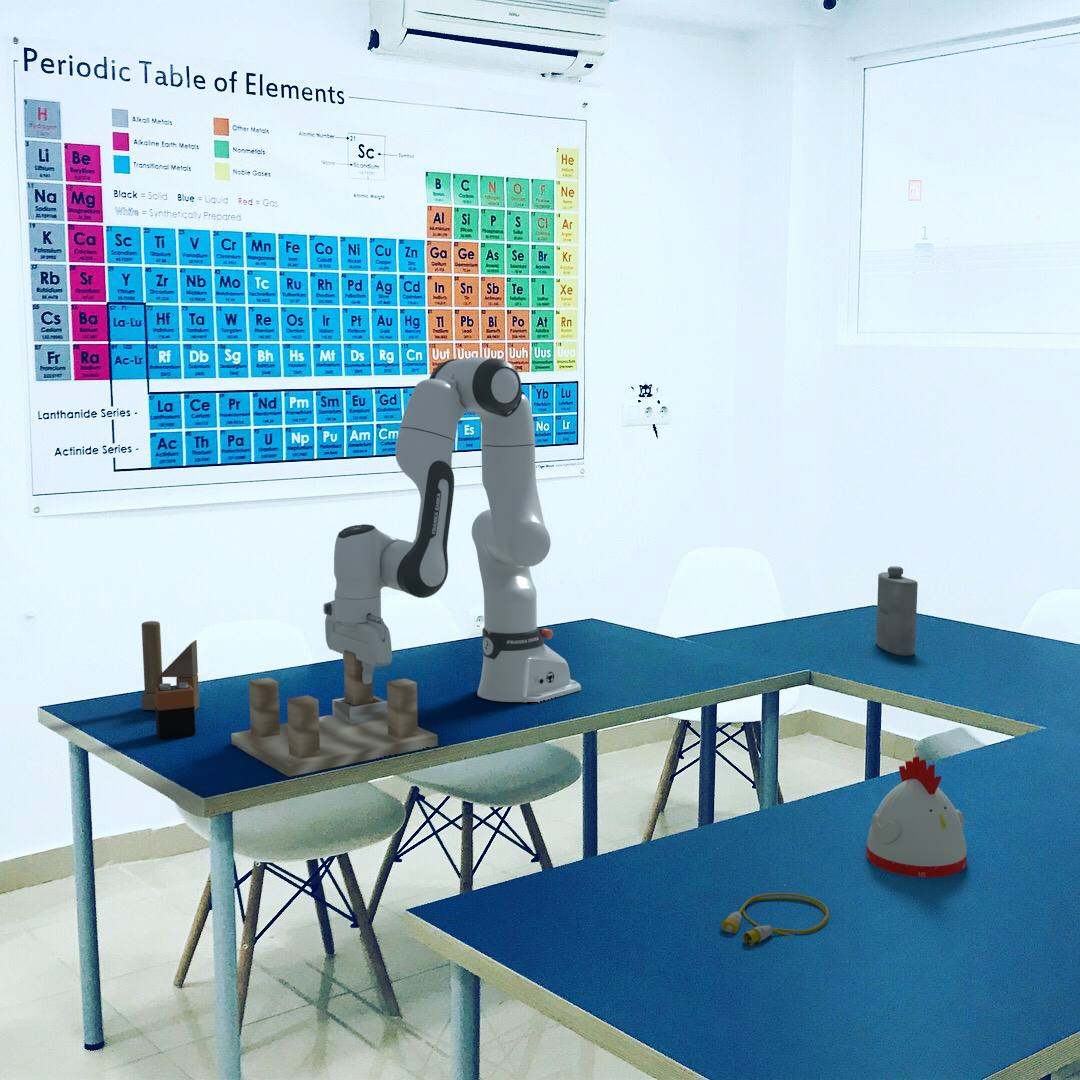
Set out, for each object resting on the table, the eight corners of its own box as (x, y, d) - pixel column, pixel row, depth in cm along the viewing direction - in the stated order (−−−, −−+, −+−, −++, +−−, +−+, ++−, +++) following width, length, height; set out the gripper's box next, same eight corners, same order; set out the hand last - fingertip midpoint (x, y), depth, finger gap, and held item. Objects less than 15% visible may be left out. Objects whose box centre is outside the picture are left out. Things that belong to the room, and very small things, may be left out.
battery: (156, 733, 258) (153, 682, 257) (192, 729, 261) (190, 679, 260) (159, 740, 254) (157, 688, 253) (196, 735, 257) (194, 684, 256)
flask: (869, 642, 334) (872, 562, 331) (892, 641, 335) (894, 561, 332) (895, 656, 319) (898, 572, 316) (918, 655, 320) (921, 572, 317)
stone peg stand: (373, 717, 269) (372, 658, 267) (437, 745, 250) (436, 682, 248) (231, 743, 252) (229, 680, 250) (288, 776, 233) (286, 708, 231)
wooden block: (194, 712, 274) (190, 624, 271) (142, 711, 274) (137, 624, 271) (199, 707, 277) (196, 620, 275) (148, 706, 278) (144, 620, 275)
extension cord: (697, 912, 178) (697, 897, 178) (802, 895, 183) (802, 881, 183) (740, 951, 167) (740, 935, 166) (851, 932, 172) (852, 917, 172)
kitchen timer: (907, 884, 186) (911, 778, 184) (846, 849, 199) (849, 751, 196) (987, 868, 192) (991, 765, 189) (923, 835, 204) (927, 739, 202)
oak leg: (363, 697, 265) (362, 647, 264) (373, 701, 262) (372, 651, 260) (344, 700, 263) (344, 650, 261) (354, 704, 259) (353, 653, 258)
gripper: (399, 616, 253) (400, 689, 255) (347, 600, 270) (348, 668, 272) (370, 620, 250) (371, 694, 252) (318, 603, 266) (320, 672, 268)
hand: (359, 680), depth 262 cm, fingers closed on oak leg, 4 cm apart
